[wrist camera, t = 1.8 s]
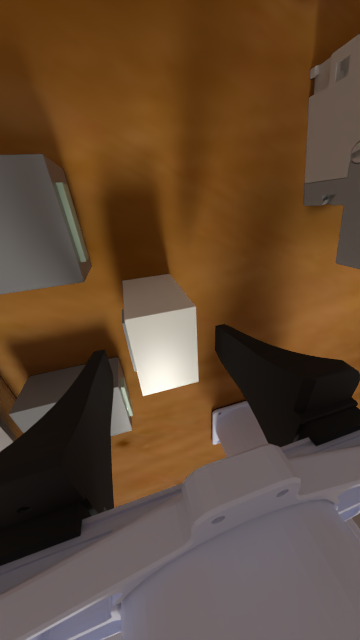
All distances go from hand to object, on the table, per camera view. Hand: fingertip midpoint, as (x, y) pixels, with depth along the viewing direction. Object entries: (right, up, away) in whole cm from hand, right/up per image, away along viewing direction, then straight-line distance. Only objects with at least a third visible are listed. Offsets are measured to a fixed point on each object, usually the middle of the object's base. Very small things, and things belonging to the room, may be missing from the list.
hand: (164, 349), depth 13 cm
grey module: (-2, +3, +6) cm, 7 cm away
